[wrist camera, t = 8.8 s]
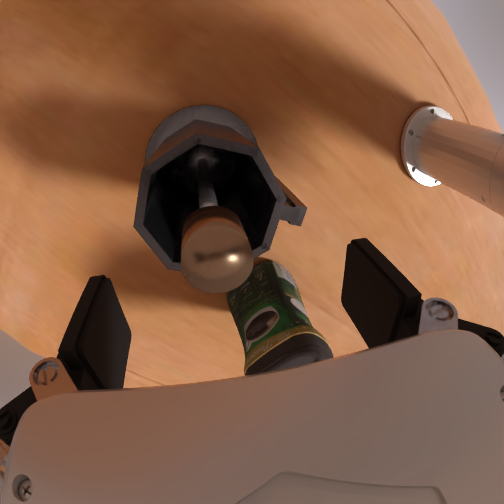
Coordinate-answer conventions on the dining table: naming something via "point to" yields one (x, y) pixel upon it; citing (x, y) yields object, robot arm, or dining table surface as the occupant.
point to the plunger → (211, 223)
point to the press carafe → (229, 196)
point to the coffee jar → (274, 322)
